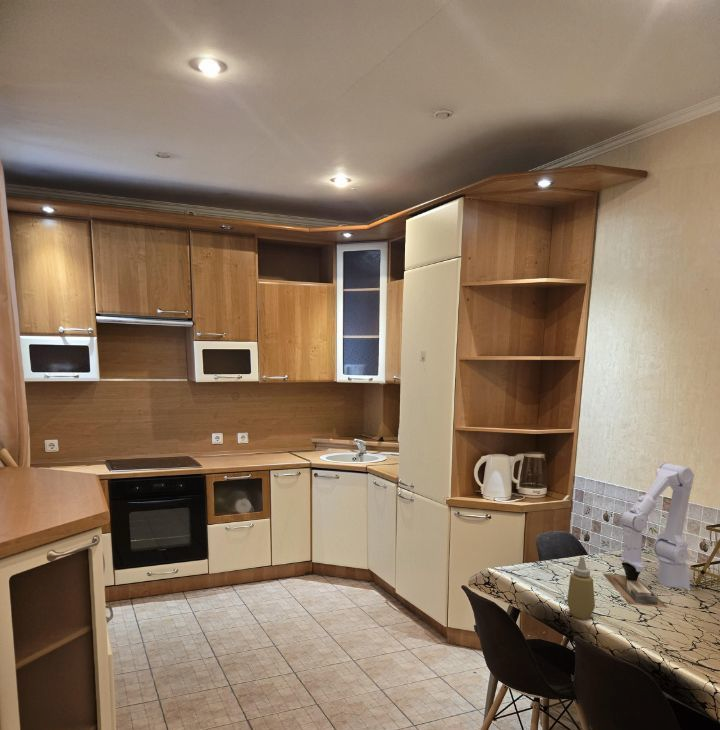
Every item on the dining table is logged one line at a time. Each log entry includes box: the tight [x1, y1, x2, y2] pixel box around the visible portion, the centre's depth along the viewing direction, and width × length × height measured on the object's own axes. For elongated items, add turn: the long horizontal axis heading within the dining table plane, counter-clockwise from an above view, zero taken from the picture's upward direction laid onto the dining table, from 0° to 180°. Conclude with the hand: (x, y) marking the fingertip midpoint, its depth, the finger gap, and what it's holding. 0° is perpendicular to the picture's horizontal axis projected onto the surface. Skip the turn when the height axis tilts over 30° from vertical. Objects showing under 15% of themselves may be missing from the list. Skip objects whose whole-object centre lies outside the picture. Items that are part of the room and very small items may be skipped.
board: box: [602, 573, 669, 608], centre depth 179 cm, size 12×26×3 cm, turn 172°
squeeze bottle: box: [566, 556, 596, 620], centre depth 159 cm, size 8×8×18 cm
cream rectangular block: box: [627, 580, 651, 596], centre depth 174 cm, size 4×10×3 cm, turn 172°
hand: (631, 584), depth 180 cm, fingers closed
